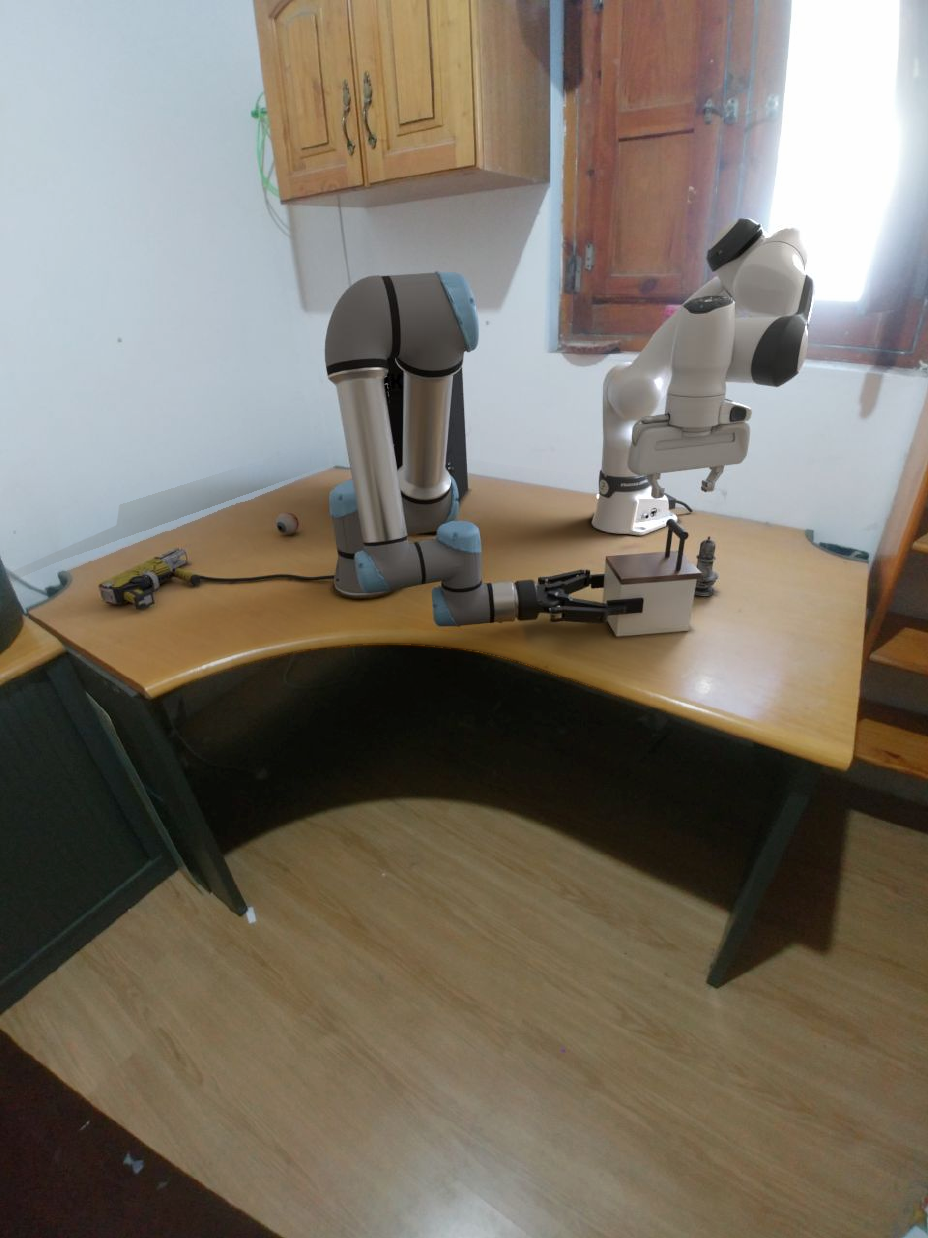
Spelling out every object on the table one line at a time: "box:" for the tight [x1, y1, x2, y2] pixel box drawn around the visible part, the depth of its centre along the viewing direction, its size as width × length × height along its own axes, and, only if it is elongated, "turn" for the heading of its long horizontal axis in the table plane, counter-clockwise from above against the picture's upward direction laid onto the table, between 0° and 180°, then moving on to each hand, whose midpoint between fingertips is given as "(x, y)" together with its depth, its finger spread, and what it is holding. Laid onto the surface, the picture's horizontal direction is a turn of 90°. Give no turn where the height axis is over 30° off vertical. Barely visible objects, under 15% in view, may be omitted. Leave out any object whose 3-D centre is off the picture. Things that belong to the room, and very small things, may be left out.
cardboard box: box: [384, 358, 469, 535], centre depth 166 cm, size 38×20×45 cm, turn 167°
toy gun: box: [98, 547, 202, 611], centre depth 139 cm, size 5×24×15 cm
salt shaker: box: [694, 536, 719, 597], centre depth 122 cm, size 6×6×12 cm
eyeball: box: [275, 511, 300, 536], centre depth 163 cm, size 6×6×6 cm
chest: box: [601, 561, 697, 637], centre depth 114 cm, size 14×10×11 cm
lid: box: [605, 519, 702, 585], centre depth 109 cm, size 14×10×8 cm
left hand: (633, 591), depth 113 cm, fingers closed on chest, 10 cm apart
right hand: (682, 494), depth 104 cm, fingers open, 8 cm apart
